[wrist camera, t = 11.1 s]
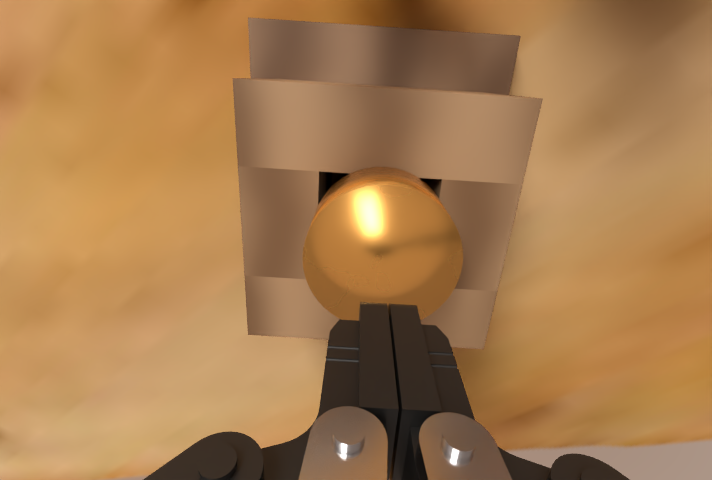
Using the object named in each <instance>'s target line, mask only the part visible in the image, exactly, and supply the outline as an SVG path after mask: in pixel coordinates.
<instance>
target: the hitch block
mask: <svg viewBox="0 0 712 480" xmlns="http://www.w3.org/2000/svg"><path fill="white" fill-rule="evenodd" d="M248 26H249V49H250V72H251V79H246V78H233V91H234V108H235V124H236V141H237V158H238V174H239V191H240V208H241V224H242V241H243V257H244V274H245V291H246V307H247V324H248V335H261V336H277V337H294V338H310V339H326V340H329V334H330V330H331V329H332V328H333V327H334V325H335V324H336V323H337V322H338V321H339V318H337V317H336V316H334V315H333V314H331V313H330V312H329V311H328V310H326V309H325V308H324V307H323V306H322V305H321V304H320V303H319V302H318V300H317V299H316V298H315V296H314V295H313V293H312V291H311V290H310V288H309V286H308V283H307V281H306V278H305V274H304V270H303V259H302V257H303V247H304V243H305V239H306V236H307V233H308V231H309V228H310V225H311V222H312V220H313V217H314V214H315V212H316V209H317V206H318V204H319V202H320V201H321V199H322V197H323V196H324V194H325V193H326V192H327V190H328V189H329V188H330V187H331V186H332V185H333V184H335V183H336V182H337V181H338V180H340V179H341V178H343V177H345V176H346V175H347V174H348V173H352V172H355V171H357V170H361V169H365V168H370V167H391V168H397V169H401V170H404V171H406V172H409V173H411V174H413V175H415V176H417V177H418V178H420V179H421V180H423V181H424V182H425V183H426V184H428V186H429V187H430V188H431V189H432V190H433V191H434V192H435V194H436V195H437V196H438V198H439V200H440V201H441V203H442V204H443V206H444V207H445V209H446V211H447V212H448V214H449V215H450V217H451V219H452V220H453V222H454V224H455V226H456V228H457V229H458V232H459V235H460V238H461V242H462V247H463V264H462V270H461V274H460V278H459V280H458V282H457V285H456V287H455V288H454V290H453V292H452V294H451V295H450V296H449V298H448V299H447V300H446V301H445V302H444V303H443V304H442V305H441V306H440V307H439V308H438V309H437V310H436V311H435V312H433V313H432V314H431V315H429V316H427V317H426V318H424V319H422V320H421V324H423V325H436V326H437V327H438V328H439V329H440V330H441V331H442V332H443V333H444V334H445V335H446V337H447V338H448V340H449V343H450V346H451V347H455V348H472V349H484V345H485V341H486V337H487V333H488V328H489V324H490V320H491V316H492V311H493V307H494V303H495V299H496V294H497V290H498V286H499V282H500V278H501V273H502V269H503V265H504V261H505V256H506V252H507V248H508V244H509V239H510V235H511V231H512V227H513V222H514V218H515V214H516V210H517V205H518V201H519V197H520V193H521V189H522V184H523V180H524V176H525V172H526V167H527V163H528V159H529V155H530V150H531V146H532V142H533V138H534V133H535V129H536V125H537V121H538V116H539V112H540V108H541V104H542V100H543V99H540V98H531V97H522V96H512V95H509V91H510V86H511V81H512V76H513V71H514V66H515V61H516V56H517V51H518V46H519V41H520V36H515V35H500V34H485V33H470V32H455V31H440V30H425V29H410V28H395V27H380V26H365V25H350V24H335V23H320V22H305V21H290V20H275V19H260V18H248ZM340 320H341V319H340Z"/></svg>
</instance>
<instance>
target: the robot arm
mask: <svg viewBox="0 0 712 480" xmlns="http://www.w3.org/2000/svg"><path fill="white" fill-rule="evenodd" d="M144 480H629V479H628V478H627V477H625V476H624V475H622V474H621V473H620V472H618V471H617V470H615V469H614V468H612V467H611V466H609V465H607V464H606V463H604V462H602V461H600V460H598V459H595V458H593V457H590V456H586V455H581V454H566V455H563V456H560V457H559V458H558V459H556V460H555V462H554V463H553V465H552V467H551V468H548V467H545V466H542V465H539V464H536V463H533V462H530V461H527V460H525V459H522V458H519V457H516V456H514V455H512V454H509V453H508V452H506V451H504V450H502V449H501V448H499V447H498V446H497V444H496V442H495V441H494V439H493V437H492V436H491V434H490V433H489V432H488V431H487V430H486V429H485V428H484V427H483V426H482V425H481V424H479V423H478V422H476V421H475V419H474V416H473V413H472V410H471V407H470V404H469V401H468V398H467V395H466V391H465V388H464V385H463V382H462V379H461V376H460V373H459V370H458V369H457V364H456V361H455V358H454V356H453V352H452V349H451V346H450V343H449V340H448V338H447V337H446V335H445V334H444V333H443V332H442V331H441V330H440V329H439V328H438V327H437V326H436V325H423V324H421V320H420V316H419V312H418V308H417V306H416V305H406V304H390V303H389V305H387V303H372V302H360V309H359V321H356V320H340V319H339V321H338V322H337V323H336V324H335V325H334V327H333V328H332V329H331V330H330V334H329V341H328V348H327V356H326V363H325V371H324V378H323V386H322V393H321V401H320V408H319V413H318V416H317V418H316V420H315V422H314V423H313V425H312V426H311V427H310V428H309V429H308V430H307V431H306V432H305V433H304V434H302V435H301V436H299V437H297V438H296V439H293V440H291V441H289V442H285V443H282V444H278V445H274V446H270V447H266V448H262V449H260V447H259V445H258V444H257V443H256V442H255V440H253V439H252V438H251V437H249V436H247V435H245V434H242V433H238V432H221V433H216V434H213V435H210V436H208V437H205V438H203V439H201V440H200V441H198V442H196V443H195V444H193V445H192V446H191V447H189V448H188V449H186V450H185V451H183V452H182V453H181V454H179V455H178V456H176V457H175V458H174V459H172V460H171V461H169V462H168V463H166V464H165V465H164V466H162V467H161V468H159V469H158V470H156V471H155V472H154V473H152V474H151V475H149V476H148V477H146V478H145V479H144Z"/></svg>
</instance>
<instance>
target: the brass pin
mask: <svg viewBox="0 0 712 480" xmlns="http://www.w3.org/2000/svg"><path fill="white" fill-rule="evenodd" d="M302 259H303V270H304V274H305V278H306V281H307V283H308V286H309V288H310V290H311V291H312V293H313V295H314V296H315V298H316V299H317V300H318V302H319V303H320V304H321V305H322V306H323V307H324V308H325V309H326V310H328V311H329V312H330V313H331V314H333V315H334V316H336V317H337V318H339V319H341V320H356V321H359V309H360V302H372V303H387V305H389V303H390V304H406V305H416V306H417V308H418V312H419V316H420V320H422V319H424V318H426V317H427V316H429V315H431V314H432V313H433V312H435V311H436V310H437V309H438V308H439V307H440V306H441V305H442V304H443V303H444V302H445V301H446V300H447V299H448V298H449V296H450V295H451V294H452V292H453V290H454V288H455V287H456V285H457V282H458V280H459V278H460V274H461V270H462V264H463V247H462V242H461V238H460V235H459V232H458V229H457V228H456V226H455V224H454V222H453V220H452V219H451V217H450V215H449V214H448V212H447V211H446V209H445V207H444V206H443V204H442V203H441V201H440V200H439V198H438V196H437V195H436V194H435V192H434V191H433V190H432V189H431V188H430V187H429V186H428V184H426V183H425V182H424V181H423V180H421V179H420V178H418V177H417V176H415V175H413V174H411V173H409V172H406V171H404V170H401V169H397V168H391V167H370V168H365V169H361V170H357V171H355V172H352V173H348V174H347V175H346V176H345V177H343V178H341V179H340V180H338V181H337V182H336V183H335V184H333V185H332V186H331V187H330V188H329V189H328V190H327V192H326V193H325V194H324V196H323V197H322V199H321V201H320V202H319V204H318V206H317V209H316V212H315V214H314V217H313V220H312V222H311V225H310V228H309V231H308V233H307V236H306V239H305V243H304V247H303V257H302Z"/></svg>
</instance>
